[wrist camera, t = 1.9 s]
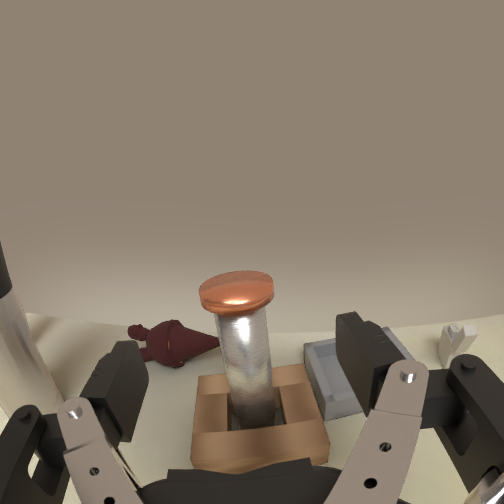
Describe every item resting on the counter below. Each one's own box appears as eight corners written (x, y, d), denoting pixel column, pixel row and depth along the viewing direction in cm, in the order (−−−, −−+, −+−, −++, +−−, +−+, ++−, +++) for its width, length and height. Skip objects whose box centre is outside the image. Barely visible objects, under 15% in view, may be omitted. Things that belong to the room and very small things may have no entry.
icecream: (227, 308, 42) (138, 315, 45) (210, 324, 34) (111, 328, 37) (236, 354, 42) (148, 356, 45) (221, 377, 35) (123, 374, 38)
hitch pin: (232, 451, 25) (195, 306, 20) (231, 413, 30) (201, 275, 25) (288, 444, 25) (278, 295, 20) (281, 407, 31) (268, 267, 25)
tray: (324, 421, 28) (325, 403, 27) (304, 361, 38) (303, 343, 37) (421, 393, 28) (426, 374, 27) (385, 344, 38) (387, 326, 37)
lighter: (436, 352, 34) (447, 301, 32) (447, 350, 33) (459, 300, 31) (450, 385, 27) (467, 331, 25) (461, 384, 27) (479, 329, 25)
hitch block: (199, 477, 22) (190, 459, 21) (204, 396, 33) (198, 376, 32) (327, 462, 22) (330, 443, 21) (303, 384, 34) (303, 363, 33)
